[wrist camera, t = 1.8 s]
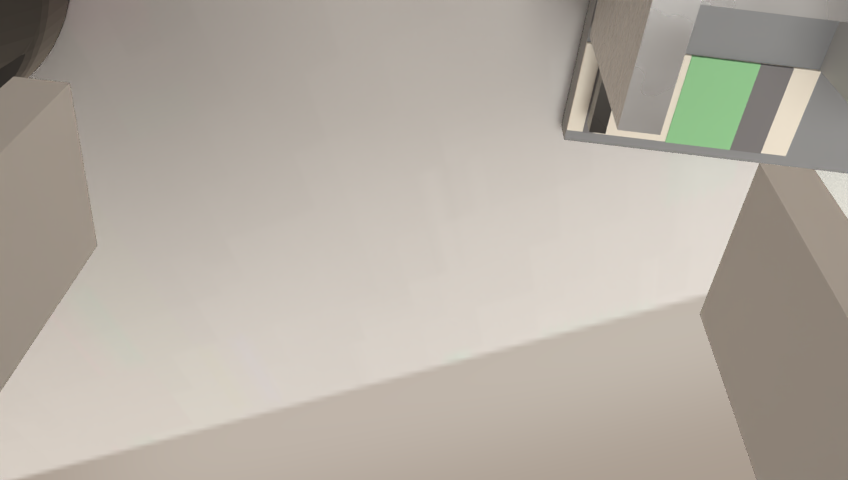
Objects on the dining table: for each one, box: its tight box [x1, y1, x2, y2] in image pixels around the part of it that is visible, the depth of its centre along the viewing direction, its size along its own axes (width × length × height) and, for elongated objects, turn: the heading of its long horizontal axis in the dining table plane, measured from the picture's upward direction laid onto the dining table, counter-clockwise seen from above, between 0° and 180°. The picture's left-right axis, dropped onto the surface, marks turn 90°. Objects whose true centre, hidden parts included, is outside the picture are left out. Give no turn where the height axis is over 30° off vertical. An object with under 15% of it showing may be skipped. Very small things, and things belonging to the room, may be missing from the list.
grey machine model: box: [587, 0, 848, 135], centre depth 24 cm, size 11×10×7 cm
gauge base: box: [562, 0, 848, 173], centre depth 25 cm, size 14×14×9 cm
